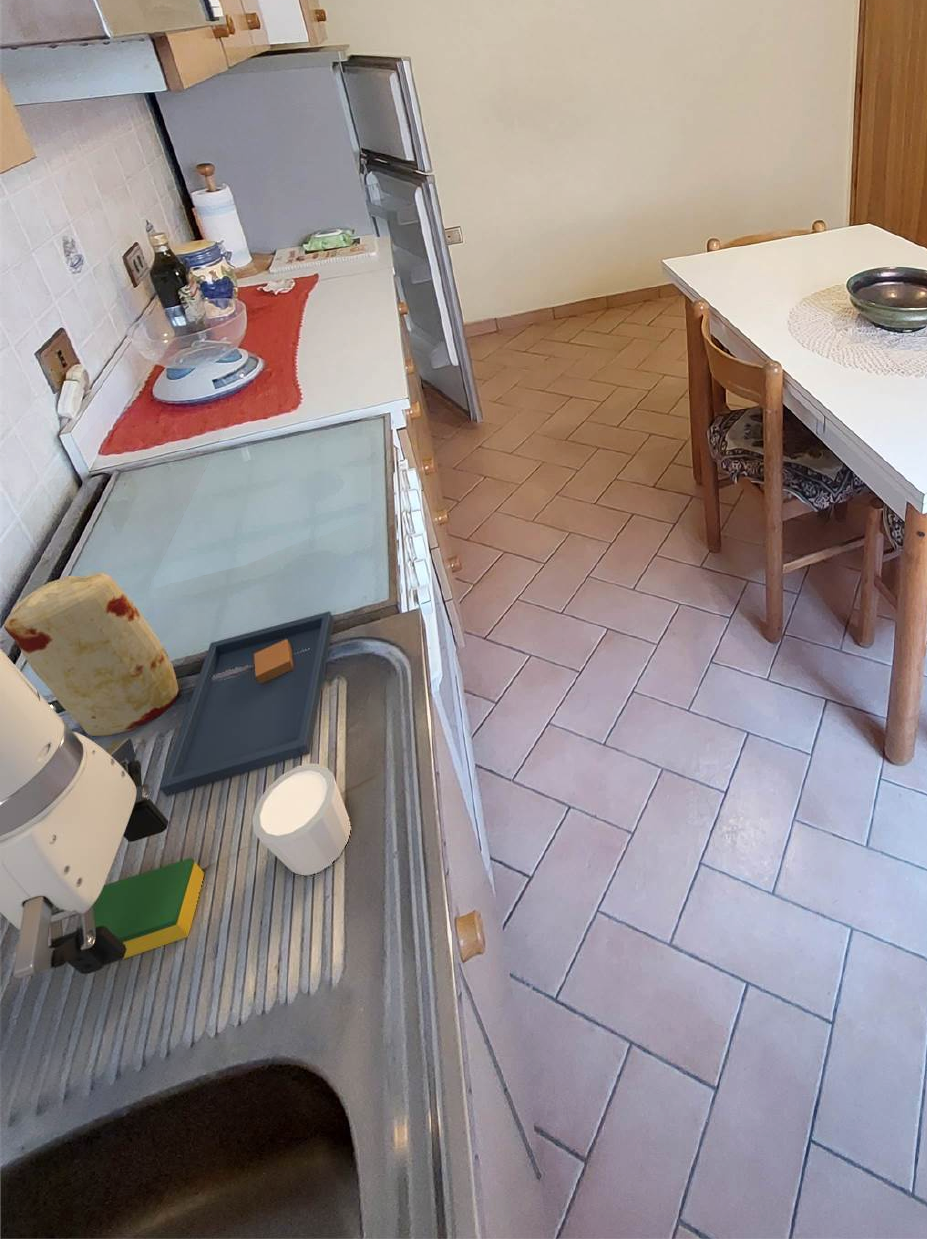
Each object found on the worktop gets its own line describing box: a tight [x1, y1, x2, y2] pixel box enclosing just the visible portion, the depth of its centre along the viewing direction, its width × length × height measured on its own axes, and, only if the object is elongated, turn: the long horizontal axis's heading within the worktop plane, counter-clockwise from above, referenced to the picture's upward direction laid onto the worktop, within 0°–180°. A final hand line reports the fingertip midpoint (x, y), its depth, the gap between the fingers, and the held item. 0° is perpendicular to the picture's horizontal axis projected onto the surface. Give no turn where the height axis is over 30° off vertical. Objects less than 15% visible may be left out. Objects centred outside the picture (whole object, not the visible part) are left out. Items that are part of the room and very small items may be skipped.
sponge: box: [75, 857, 205, 966], centre depth 63 cm, size 8×5×3 cm, turn 105°
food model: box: [3, 572, 179, 737], centre depth 77 cm, size 10×7×20 cm
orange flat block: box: [254, 639, 294, 684], centre depth 85 cm, size 4×4×2 cm
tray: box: [159, 611, 335, 797], centre depth 81 cm, size 14×18×2 cm
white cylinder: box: [251, 762, 352, 875], centre depth 66 cm, size 7×7×7 cm
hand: (129, 892), depth 61 cm, fingers open, 9 cm apart
